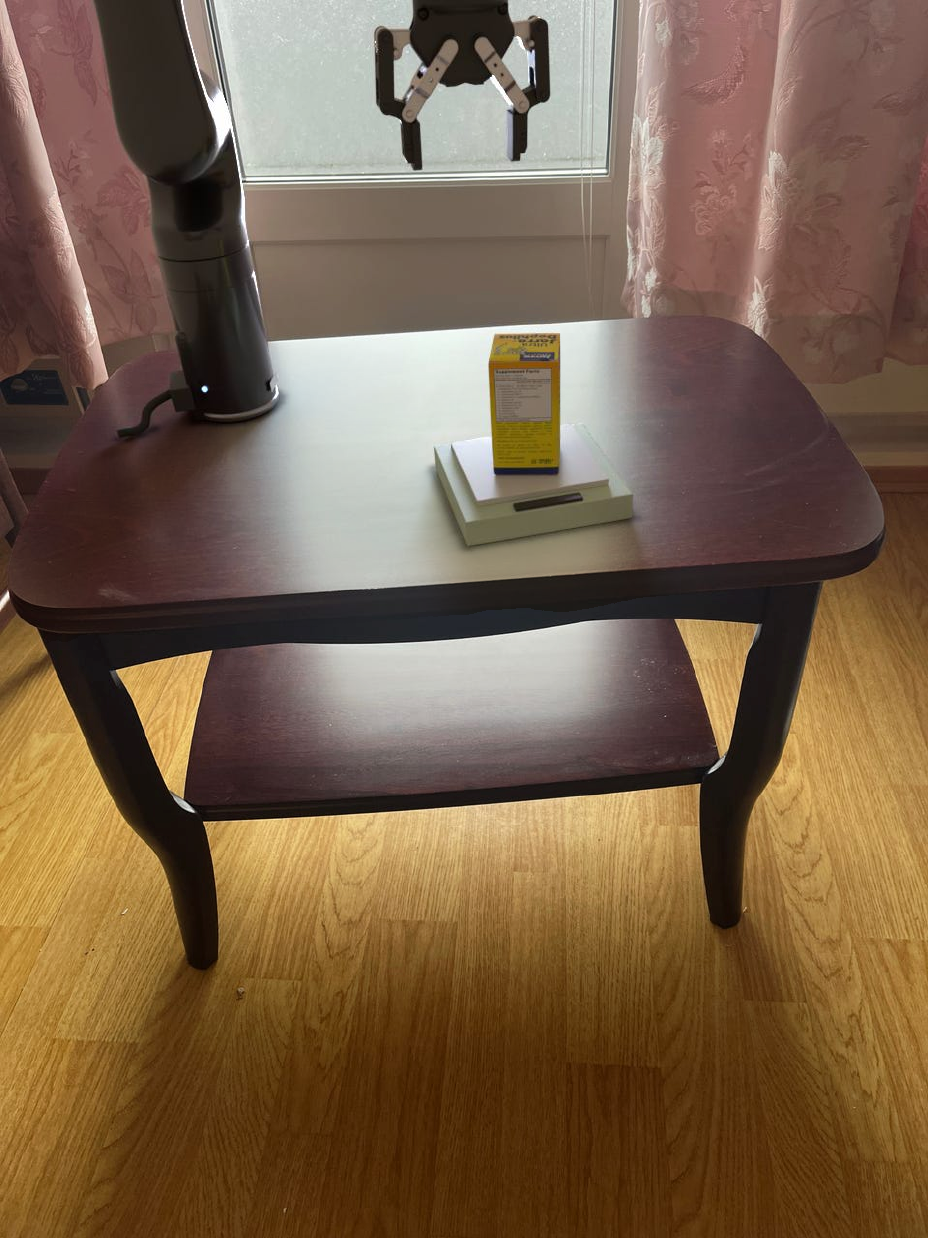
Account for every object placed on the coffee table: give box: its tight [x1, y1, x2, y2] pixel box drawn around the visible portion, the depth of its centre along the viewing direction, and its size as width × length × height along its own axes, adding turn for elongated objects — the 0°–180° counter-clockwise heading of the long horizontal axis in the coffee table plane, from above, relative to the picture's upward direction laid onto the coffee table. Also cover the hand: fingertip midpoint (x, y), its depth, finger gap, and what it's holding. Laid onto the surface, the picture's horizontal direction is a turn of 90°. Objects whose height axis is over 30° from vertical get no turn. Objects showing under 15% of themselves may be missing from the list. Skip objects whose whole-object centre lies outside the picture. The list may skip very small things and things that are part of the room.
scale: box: [433, 422, 634, 547], centre depth 88 cm, size 15×14×3 cm
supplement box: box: [487, 332, 561, 474], centre depth 84 cm, size 6×6×11 cm
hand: (465, 163), depth 82 cm, fingers open, 8 cm apart
